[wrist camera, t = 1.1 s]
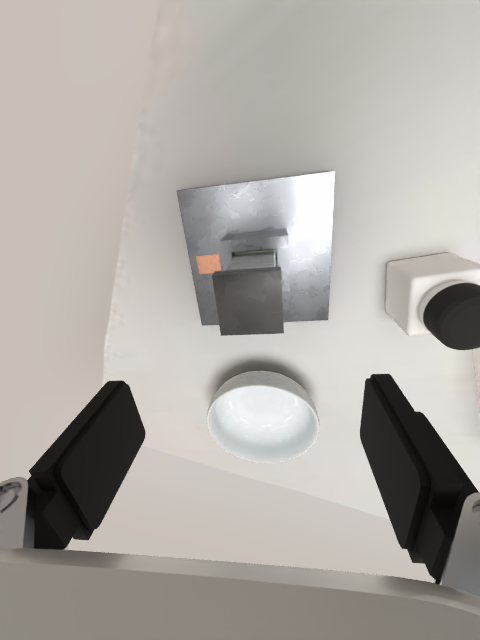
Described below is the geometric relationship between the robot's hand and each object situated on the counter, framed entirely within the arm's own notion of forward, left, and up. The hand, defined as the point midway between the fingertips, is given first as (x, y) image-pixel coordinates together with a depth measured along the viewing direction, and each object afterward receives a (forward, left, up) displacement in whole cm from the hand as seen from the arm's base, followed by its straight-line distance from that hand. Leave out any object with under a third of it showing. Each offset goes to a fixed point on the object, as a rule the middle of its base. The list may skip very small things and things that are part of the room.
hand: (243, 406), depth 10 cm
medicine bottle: (+5, +19, -28) cm, 34 cm away
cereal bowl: (+24, -2, -28) cm, 37 cm away
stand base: (0, -1, -27) cm, 27 cm away
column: (0, -1, -25) cm, 25 cm away
